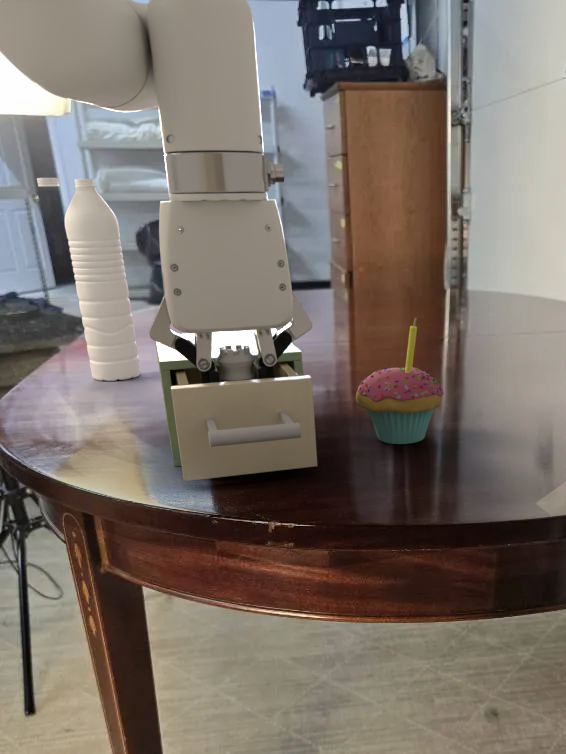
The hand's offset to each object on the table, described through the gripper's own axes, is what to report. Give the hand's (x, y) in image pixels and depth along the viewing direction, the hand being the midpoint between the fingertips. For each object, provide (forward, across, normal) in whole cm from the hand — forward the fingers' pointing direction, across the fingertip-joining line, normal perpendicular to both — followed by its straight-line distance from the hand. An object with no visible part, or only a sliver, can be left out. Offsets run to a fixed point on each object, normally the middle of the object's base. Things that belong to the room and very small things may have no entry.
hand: (240, 409), depth 68 cm
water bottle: (+6, +13, -47) cm, 49 cm away
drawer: (+5, 0, 0) cm, 5 cm away
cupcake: (+6, -16, -5) cm, 18 cm away
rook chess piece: (+3, 0, 0) cm, 3 cm away
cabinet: (+6, 0, -11) cm, 12 cm away
